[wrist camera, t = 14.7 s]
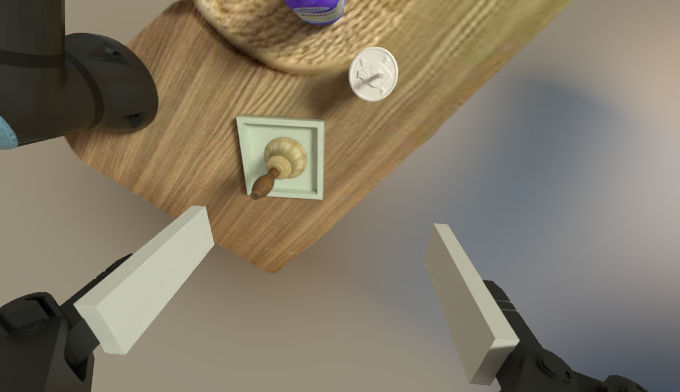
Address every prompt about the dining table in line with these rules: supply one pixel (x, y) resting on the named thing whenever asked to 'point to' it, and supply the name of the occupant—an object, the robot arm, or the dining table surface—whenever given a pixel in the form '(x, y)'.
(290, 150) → the hand bell
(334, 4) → the bottle
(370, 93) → the smoothie
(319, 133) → the tray
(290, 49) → the dining table surface
